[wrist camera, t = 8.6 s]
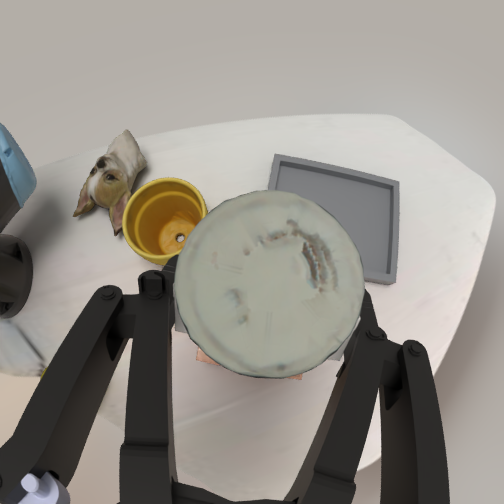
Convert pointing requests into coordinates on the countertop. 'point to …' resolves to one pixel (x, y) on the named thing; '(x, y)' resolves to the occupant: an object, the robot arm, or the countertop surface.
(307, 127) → the countertop surface
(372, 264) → the grey tray
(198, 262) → the sauce bottle
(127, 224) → the plant pot
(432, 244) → the countertop surface
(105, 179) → the ceramic sculpture
